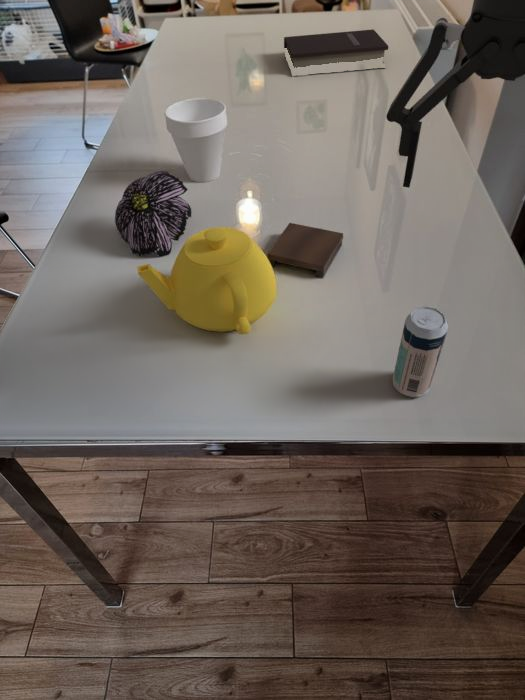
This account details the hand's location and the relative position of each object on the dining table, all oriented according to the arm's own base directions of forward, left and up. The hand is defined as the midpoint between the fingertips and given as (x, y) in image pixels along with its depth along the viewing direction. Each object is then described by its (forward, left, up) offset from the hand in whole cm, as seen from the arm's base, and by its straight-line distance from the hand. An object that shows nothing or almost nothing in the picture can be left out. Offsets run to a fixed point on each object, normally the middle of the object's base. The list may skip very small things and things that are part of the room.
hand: (467, 188), depth 58 cm
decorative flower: (+51, -5, -22) cm, 56 cm away
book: (+51, -106, -22) cm, 120 cm away
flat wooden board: (+23, -9, -22) cm, 33 cm away
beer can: (0, +13, -22) cm, 25 cm away
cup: (+54, -29, -22) cm, 65 cm away
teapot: (+31, +9, -22) cm, 39 cm away
